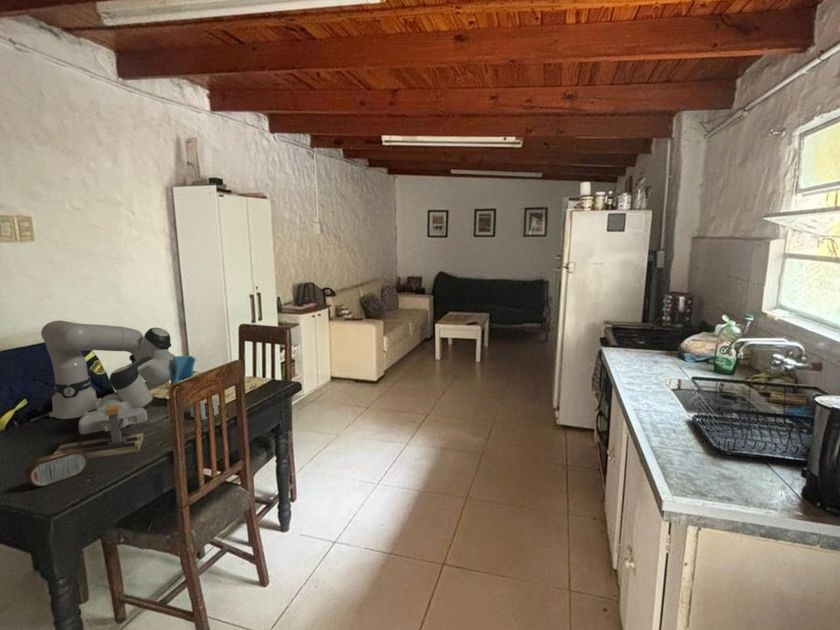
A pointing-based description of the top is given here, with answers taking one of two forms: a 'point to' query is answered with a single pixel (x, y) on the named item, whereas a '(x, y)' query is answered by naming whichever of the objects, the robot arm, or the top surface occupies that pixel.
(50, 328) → the robot arm
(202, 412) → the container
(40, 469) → the tin
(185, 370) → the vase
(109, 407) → the fader lever
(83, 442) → the fader board
